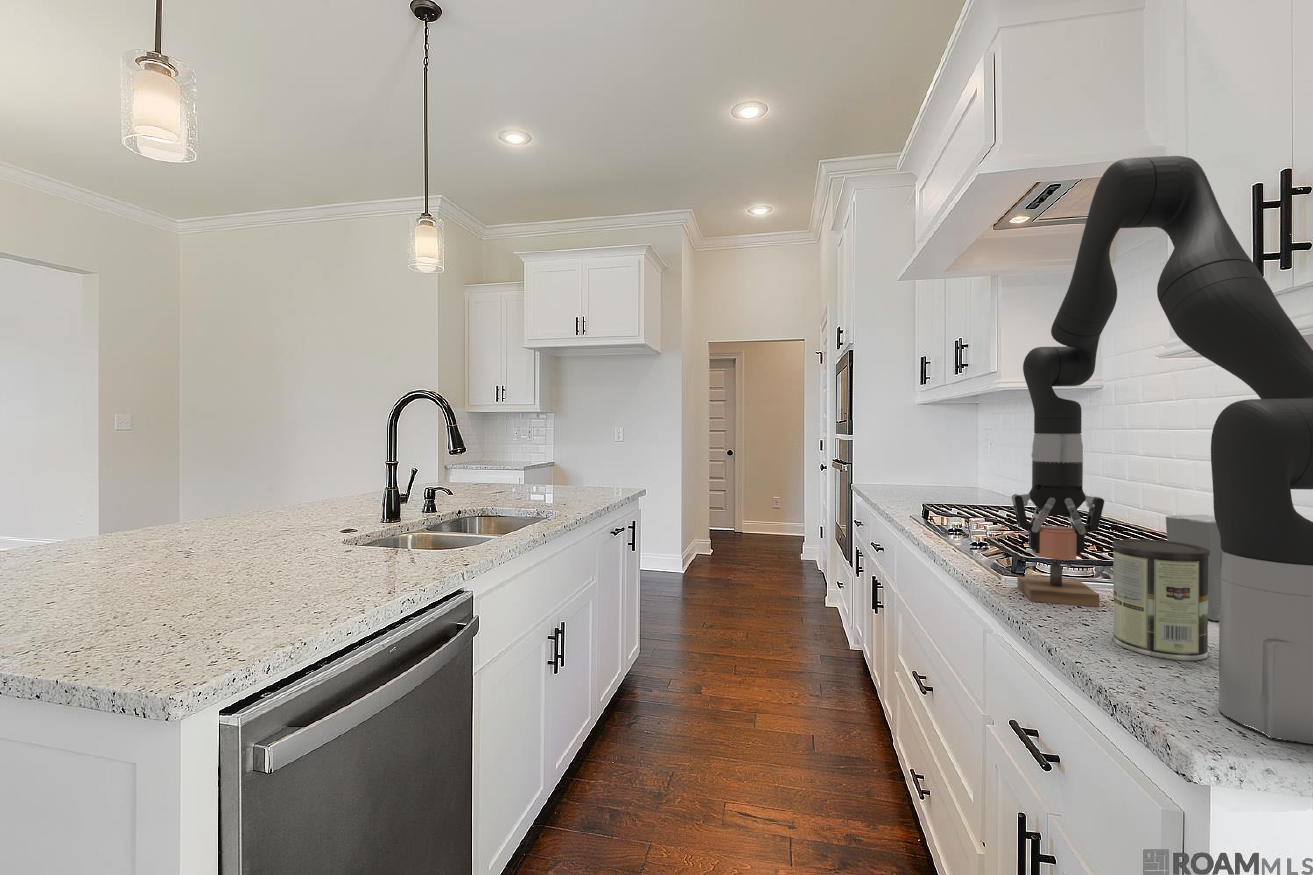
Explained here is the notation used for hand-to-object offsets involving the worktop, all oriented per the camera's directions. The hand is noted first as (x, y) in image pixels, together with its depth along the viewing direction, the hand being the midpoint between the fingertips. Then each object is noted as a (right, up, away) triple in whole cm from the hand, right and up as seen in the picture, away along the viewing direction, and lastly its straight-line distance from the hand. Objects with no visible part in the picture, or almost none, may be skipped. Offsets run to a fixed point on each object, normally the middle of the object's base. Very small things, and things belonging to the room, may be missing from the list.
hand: (1056, 553), depth 108 cm
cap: (0, 0, 0) cm, 0 cm away
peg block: (0, -8, 0) cm, 8 cm away
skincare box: (+18, -8, -10) cm, 22 cm away
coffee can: (-2, -8, -25) cm, 26 cm away
